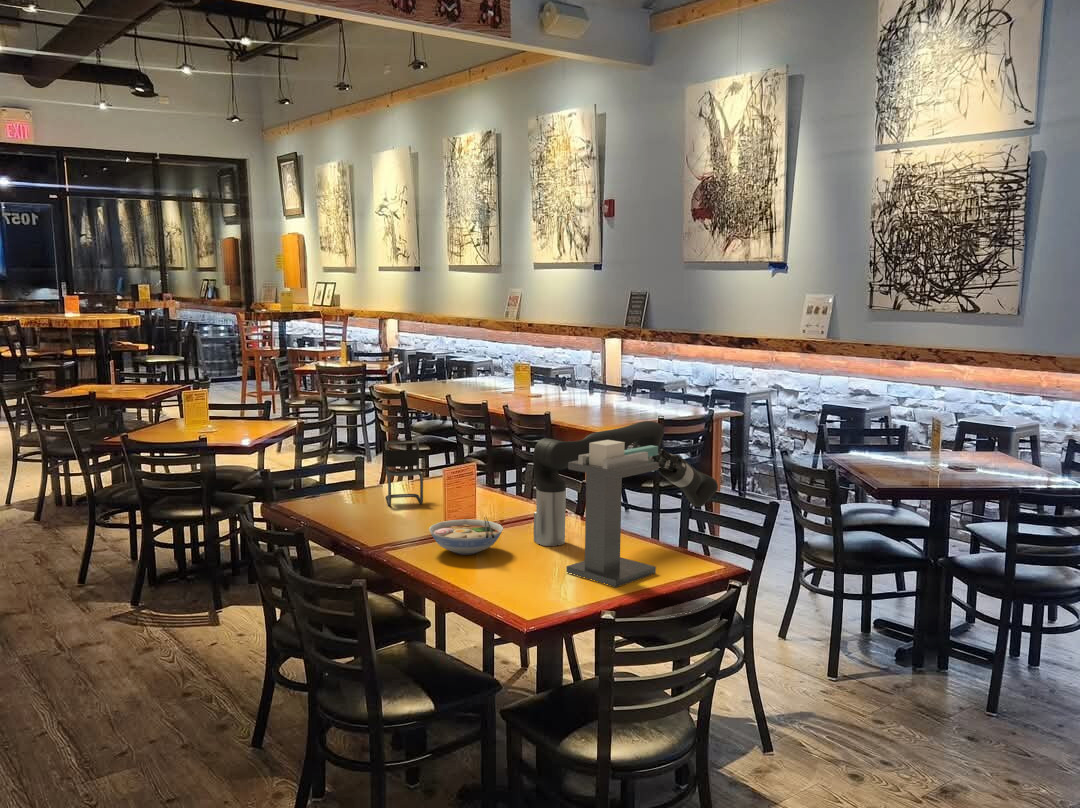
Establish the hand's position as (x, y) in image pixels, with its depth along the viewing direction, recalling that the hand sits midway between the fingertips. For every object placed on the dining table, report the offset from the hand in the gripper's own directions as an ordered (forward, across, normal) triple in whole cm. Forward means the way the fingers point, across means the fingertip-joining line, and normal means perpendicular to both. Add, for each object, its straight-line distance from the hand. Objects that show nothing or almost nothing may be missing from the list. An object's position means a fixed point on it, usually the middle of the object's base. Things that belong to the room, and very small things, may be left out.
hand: (649, 450), depth 269 cm
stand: (-3, 0, +37) cm, 37 cm away
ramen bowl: (+10, -45, +45) cm, 65 cm away
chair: (-14, -112, +31) cm, 117 cm away
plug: (+9, 0, +7) cm, 12 cm away
